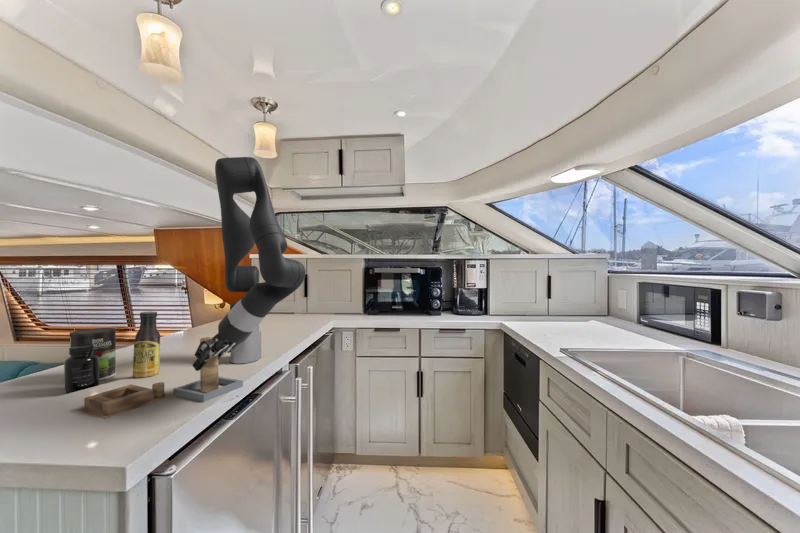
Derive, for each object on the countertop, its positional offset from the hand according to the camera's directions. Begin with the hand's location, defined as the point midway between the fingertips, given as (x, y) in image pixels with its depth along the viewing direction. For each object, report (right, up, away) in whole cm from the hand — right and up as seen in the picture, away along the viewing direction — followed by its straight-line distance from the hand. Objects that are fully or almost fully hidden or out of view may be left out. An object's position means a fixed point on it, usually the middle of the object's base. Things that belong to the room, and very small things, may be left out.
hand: (202, 365), depth 86 cm
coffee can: (-41, -8, +15) cm, 45 cm away
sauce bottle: (-24, -8, +12) cm, 28 cm away
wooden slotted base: (-13, -8, -7) cm, 17 cm away
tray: (+2, -8, 0) cm, 8 cm away
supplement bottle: (-35, -8, +4) cm, 36 cm away
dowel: (+2, -6, 0) cm, 6 cm away
